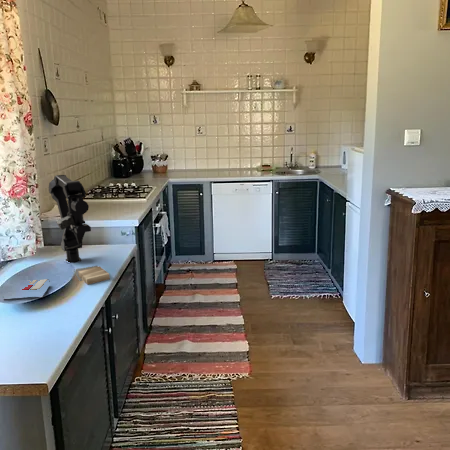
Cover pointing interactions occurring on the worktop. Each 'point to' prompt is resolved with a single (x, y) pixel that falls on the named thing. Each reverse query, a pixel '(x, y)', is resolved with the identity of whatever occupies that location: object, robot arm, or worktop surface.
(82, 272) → the birch tile
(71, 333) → the worktop surface
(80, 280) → the rubber mat
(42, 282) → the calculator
